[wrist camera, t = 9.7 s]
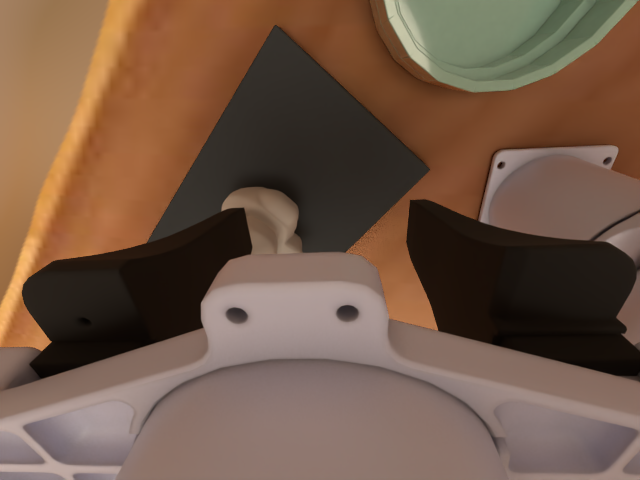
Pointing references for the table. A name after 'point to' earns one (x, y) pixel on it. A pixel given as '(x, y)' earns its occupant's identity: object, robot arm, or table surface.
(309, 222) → the desk pad
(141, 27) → the table surface
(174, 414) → the robot arm
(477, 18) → the bowl
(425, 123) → the table surface
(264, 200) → the rubber duck
